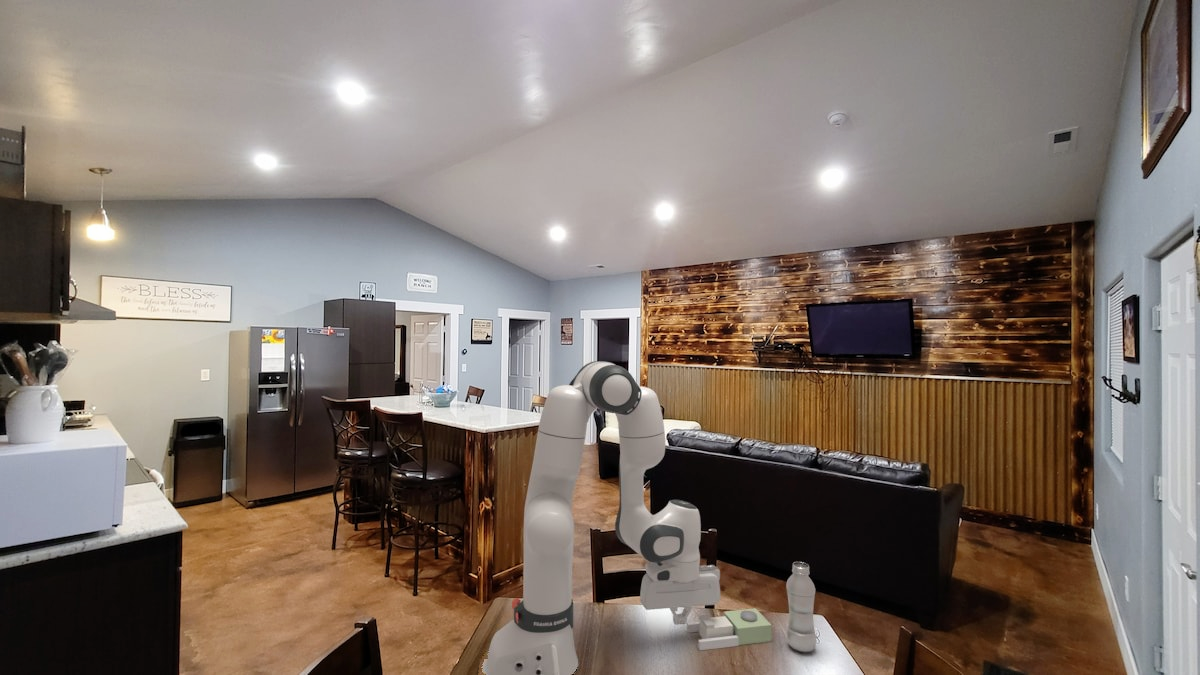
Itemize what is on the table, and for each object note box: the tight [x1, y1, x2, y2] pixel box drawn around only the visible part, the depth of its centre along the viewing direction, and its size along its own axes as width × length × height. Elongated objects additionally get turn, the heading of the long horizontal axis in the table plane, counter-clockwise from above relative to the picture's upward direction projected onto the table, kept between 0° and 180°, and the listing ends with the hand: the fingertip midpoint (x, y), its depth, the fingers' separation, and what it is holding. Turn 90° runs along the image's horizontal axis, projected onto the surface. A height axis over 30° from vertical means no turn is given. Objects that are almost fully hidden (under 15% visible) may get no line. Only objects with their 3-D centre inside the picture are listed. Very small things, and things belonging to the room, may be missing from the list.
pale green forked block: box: [686, 607, 773, 651], centre depth 125 cm, size 19×8×5 cm, turn 101°
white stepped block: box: [698, 614, 733, 639], centre depth 124 cm, size 7×4×5 cm, turn 101°
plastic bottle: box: [785, 561, 817, 653], centre depth 120 cm, size 6×7×20 cm
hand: (679, 623), depth 123 cm, fingers closed
